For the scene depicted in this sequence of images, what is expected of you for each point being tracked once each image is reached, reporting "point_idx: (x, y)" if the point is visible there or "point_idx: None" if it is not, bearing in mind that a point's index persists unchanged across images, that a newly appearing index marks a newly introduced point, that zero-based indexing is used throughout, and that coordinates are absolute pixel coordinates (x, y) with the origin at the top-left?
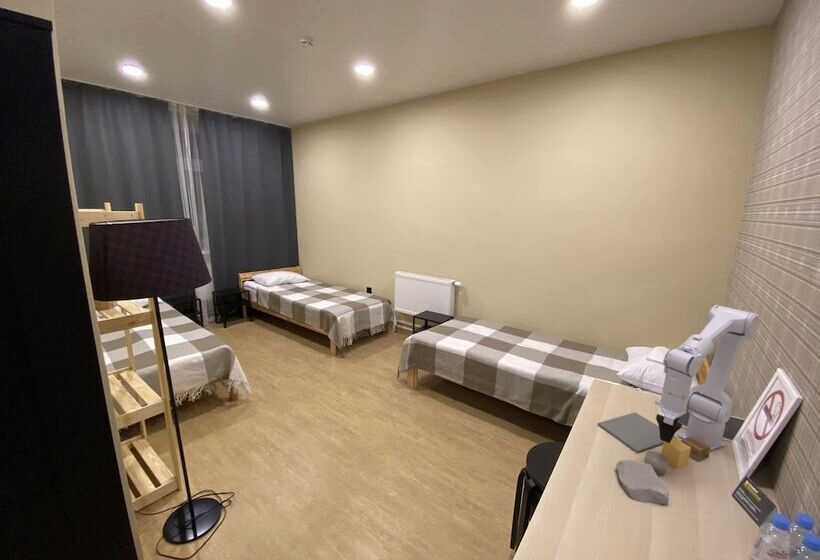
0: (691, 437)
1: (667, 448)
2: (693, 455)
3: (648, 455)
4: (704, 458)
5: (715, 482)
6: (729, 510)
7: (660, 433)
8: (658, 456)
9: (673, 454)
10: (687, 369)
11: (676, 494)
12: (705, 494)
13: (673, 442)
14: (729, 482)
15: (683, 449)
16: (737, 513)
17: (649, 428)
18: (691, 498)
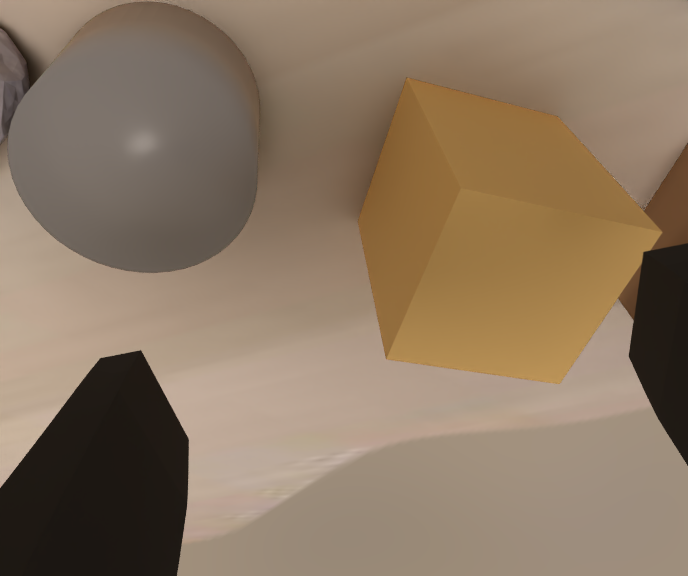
0: None
1: (422, 200)
2: (639, 267)
3: (61, 102)
4: None
5: (433, 392)
6: (226, 479)
7: (19, 476)
8: (173, 184)
9: (390, 250)
10: None
11: (32, 315)
12: (242, 397)
13: (518, 265)
14: (504, 424)
15: (453, 360)
16: (242, 497)
17: None
18: None
